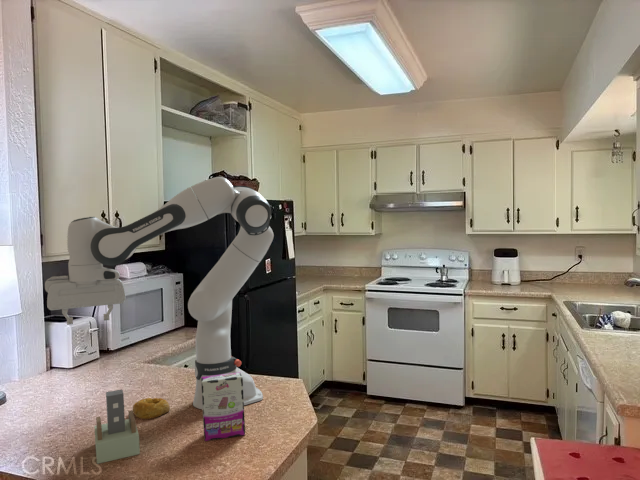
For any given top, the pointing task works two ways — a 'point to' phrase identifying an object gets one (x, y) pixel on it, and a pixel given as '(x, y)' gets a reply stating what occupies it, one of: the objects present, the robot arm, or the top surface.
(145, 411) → the bagel
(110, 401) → the tall grey pillar
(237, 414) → the candy bar box
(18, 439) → the top surface
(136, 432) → the bracket shelf
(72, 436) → the top surface
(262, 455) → the top surface
